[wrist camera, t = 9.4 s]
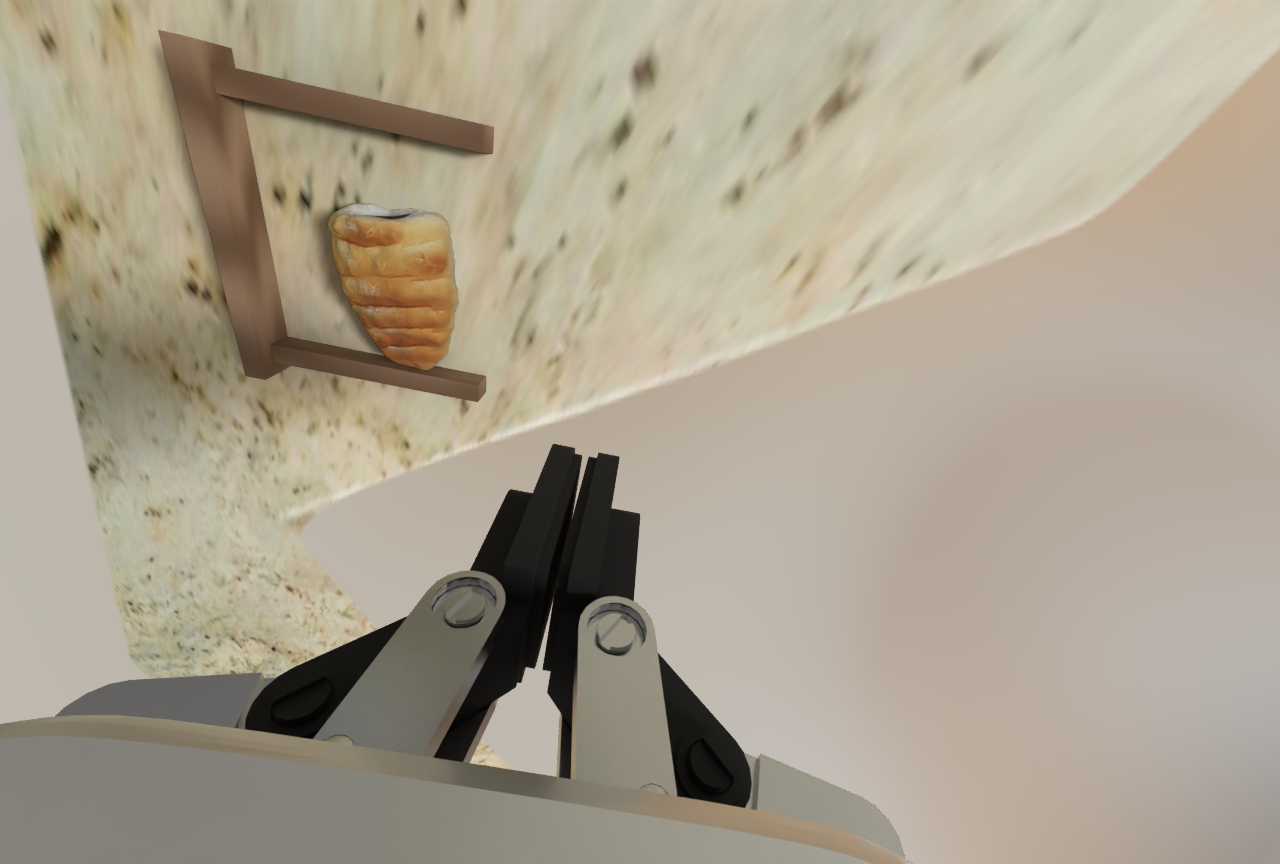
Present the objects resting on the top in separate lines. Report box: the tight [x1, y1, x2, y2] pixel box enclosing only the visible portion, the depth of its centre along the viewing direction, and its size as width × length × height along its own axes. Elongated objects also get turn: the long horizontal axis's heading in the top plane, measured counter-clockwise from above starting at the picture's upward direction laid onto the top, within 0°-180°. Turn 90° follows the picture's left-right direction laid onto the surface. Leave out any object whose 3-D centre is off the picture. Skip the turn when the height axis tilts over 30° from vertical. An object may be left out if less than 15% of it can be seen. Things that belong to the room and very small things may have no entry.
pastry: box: [328, 203, 459, 370], centre depth 27 cm, size 9×7×4 cm
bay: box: [158, 30, 494, 402], centre depth 26 cm, size 17×14×2 cm
